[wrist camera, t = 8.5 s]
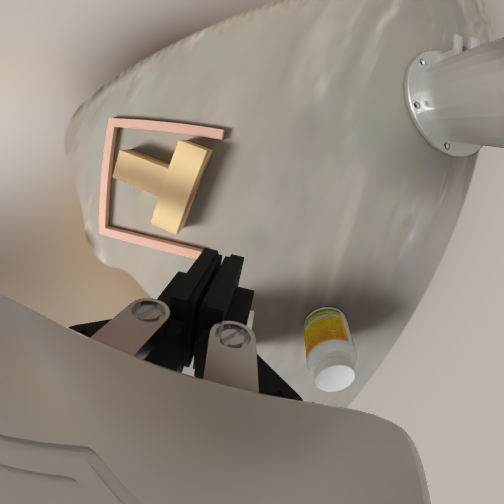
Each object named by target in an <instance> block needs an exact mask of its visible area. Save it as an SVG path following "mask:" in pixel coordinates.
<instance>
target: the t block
mask: <svg viewBox="0 0 504 504" xmlns="http://www.w3.org/2000/svg"><path fill="white" fill-rule="evenodd" d="M212 152H213V150H211V149H209V148H206V147H204V146H201V145H198V144H196V143H193V142H190V141H188V140H179V141H178V144H177V146H176V149H175V151H174V154H173V157H172V160H171V162H170V164H169V163H166V162H164V161H161V160H159V159H156V158H153V157H151V156H148V155H146V154H143V153H140V152H138V151H135V150H132V149H128V150H120V151H119V155H118V158H117V162H116V165H115V169H114V172H113V176H112V177H113V178H116V179H118V180H121V181H123V182H125V183H128V184H130V185H132V186H135V187H137V188H139V189H142V190H144V191H146V192H149V193H151V194H153V195H156V196H158V197H159V198H158V201H157V204H156V207H155V211H154V214H153V217H152V221H151V224H153V225H156V226H158V227H160V228H162V229H164V230H167V231H169V232H171V233H173V234H177V233H178V232H179V231H180V230H182V229H183V228H184V225H185V222H186V220H187V217H188V214H189V211H190V208H191V206H192V203H193V200H194V198H195V195H196V192H197V190H198V187H199V184H200V182H201V179H202V177H203V174H204V172H205V169H206V167H207V164H208V162H209V159H210V157H211V154H212Z"/></svg>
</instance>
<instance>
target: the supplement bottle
mask: <svg viewBox="0 0 504 504" xmlns="http://www.w3.org/2000/svg"><path fill="white" fill-rule="evenodd" d="M304 334H305V346H306V359H307V366H308V368H309V370H310V372H311V373H312V374H313V375H314V378H315V383H316V386H317V387H318V388H319V389H321V390H323V391H327V392H335V391H339V390H342V389H344V388H346V387H348V386H349V385H350V384H351V383H352V382H353V381H354V379H355V370H354V365H355V363H356V359H357V353H356V348H355V345H354V342H353V339H352V335H351V332H350V329H349V326H348V322H347V320H346V317H345V315H344V314H343V313H342V312H341V311H340V310H338V309H336V308H332V307H323V308H319V309H316V310H315V311H313V312H312V313H311V314H309V316H308V317H307V318H306V320H305V324H304Z"/></svg>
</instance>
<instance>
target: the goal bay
mask: <svg viewBox="0 0 504 504" xmlns="http://www.w3.org/2000/svg"><path fill="white" fill-rule="evenodd" d="M118 127H122V128H136V129H147V130H157V131H166V132H174V133H182V134H190V135H196V136H203V137H209V138H215V139H221V140H223V138H224V133H225V130H222V129H216V128H209V127H203V126H196V125H188V124H180V123H171V122H161V121H150V120H137V119H119V118H109V120H108V126H107V132H106V139H105V146H104V154H103V163H102V173H101V186H100V203H99V234H101V235H104V236H108V237H112V238H116V239H119V240H123V241H127V242H131V243H135V244H138V245H142V246H146V247H150V248H154V249H158V250H162V251H166V252H170V253H174V254H178V255H182V256H186V257H190V258H194V259H197V258H198V257H199V255H200V254H201V253H202V251H203V249H200V248H196V247H192V246H188V245H184V244H180V243H176V242H171V241H167V240H163V239H159V238H155V237H151V236H147V235H143V234H139V233H135V232H131V231H127V230H122V229H118V228H114V227H110V226H109V204H110V189H111V177H112V167H113V158H114V150H115V143H116V136H117V130H118Z"/></svg>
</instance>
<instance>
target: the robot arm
mask: <svg viewBox="0 0 504 504" xmlns="http://www.w3.org/2000/svg"><path fill="white" fill-rule="evenodd" d="M466 42H467V50H466V51H463V38H462V37H461V36H459V35H456V34H454V35H452V49H451V50H449V51H447V52H444V51H438V50H432V51H427V52H424V53H422V54H420V55H419V56H417V57H416V58H415V59H414V60H413V61H412V62H411V64H410V65H409V67H408V69H407V72H406V76H405V83H404V86H405V98H406V103H407V106H408V109H409V112H410V115H411V117H412V119H413V121H414V123H415V125H416V127H417V128H418V130H419V131H420V133H421V134H422V136H423V137H424V138H425V139H426V140H427V141H428V142H429V143H430V144H431V145H432V146H433V147H435V148H436V149H437V150H439V151H441V152H443V153H445V154H448V155H451V156H457V157H466V156H469V155H472V154H474V153H475V152H477V151H478V150H479V149H480V148H481V147H482V146H483V145H484V146H493V147H501V148H504V37H503V38H500V39H497V40H494V41H491V42H488V43H485V44H482V45H481V43H480V41H479V40H478V39H476V38H474V37H467V38H466ZM414 105H415V107H414ZM221 260H222V255H219V254H218V251H217V250H212V249H208V248H205V249H204V250H203V251H202V253H201V254H200V255H199V257H198V258H197V260H196V261H195V262H194V264H193V265H192V266H191V268H190V269H189V271H188V272H187V273H183V272H178V273H177V274H176V275H175V277H174V278H173V279H172V280H171V282H170V283H169V284H168V286H167V287H166V288H165V289H164V291H163V292H162V293H161V295H160V296H159V297H158V299H153V298H142V299H138V300H135V301H134V302H132V303H131V304H129V305H128V306H127V307H126V308H125V309H123V310H122V311H121V312H120V313H119V314H117V315H116V316H115V317H114V318H113V319H110V320H104V321H98V322H92V323H86V324H80V325H75V326H71V327H69V328H68V327H66V326H64V325H62V324H60V323H58V322H56V321H54V320H52V319H51V318H48V317H47V316H45V315H43V314H41V313H39V312H38V311H36V310H34V309H32V308H30V307H28V306H26V305H24V304H22V303H21V302H19V301H17V300H15V299H12V298H10V297H8V296H5V295H2V294H0V504H430V496H429V491H428V487H427V482H426V477H425V473H424V469H423V466H422V462H421V459H420V456H419V454H418V451H417V449H416V446H415V444H414V442H413V441H412V439H411V437H410V436H409V435H408V434H407V432H406V431H405V430H403V429H402V428H401V427H399V426H398V425H396V424H394V423H393V422H391V421H389V420H386V419H383V418H381V417H378V416H376V415H373V414H369V413H366V412H362V411H358V410H353V409H348V408H343V407H337V406H330V405H323V404H317V403H314V402H312V403H311V402H305V401H303V399H302V398H301V397H300V396H299V395H298V394H297V393H296V392H295V391H294V390H293V389H292V388H291V387H290V386H289V385H288V384H287V383H286V382H285V381H284V380H283V379H282V378H281V377H280V376H279V375H278V374H277V373H276V372H275V371H274V370H273V369H272V368H271V367H270V366H269V365H268V364H267V363H266V362H265V361H264V360H263V359H262V358H261V357H260V356H259V355H258V354H257V351H256V338H255V334H254V333H253V331H252V330H251V329H250V328H249V327H247V322H248V317H249V313H250V308H251V304H252V299H253V295H254V291H253V290H249V289H245V288H241V287H238V284H239V279H240V275H241V270H242V265H243V261H244V257H241V256H237V255H233V254H231V256H230V257H227V256H226V257H225V258H224V260H223V262H222V264H221ZM193 357H194V361H193V369H195V371H194V376H195V377H193V376H190V375H187V374H183V373H182V371H183V368H184V366H185V367H190V364H191V362H192V360H193Z"/></svg>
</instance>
